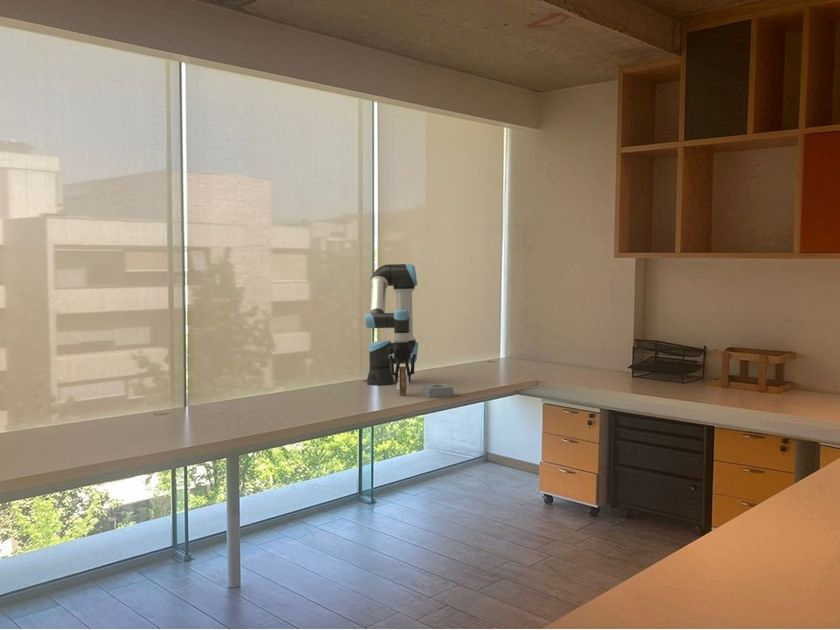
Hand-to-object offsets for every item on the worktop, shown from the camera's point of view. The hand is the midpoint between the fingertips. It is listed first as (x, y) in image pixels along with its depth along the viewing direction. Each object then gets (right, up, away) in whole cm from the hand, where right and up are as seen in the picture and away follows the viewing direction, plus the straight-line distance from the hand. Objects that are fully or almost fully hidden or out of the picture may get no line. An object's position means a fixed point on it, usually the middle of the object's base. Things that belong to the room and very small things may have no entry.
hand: (402, 388), depth 370 cm
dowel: (0, -3, 0) cm, 3 cm away
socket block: (+17, -3, -2) cm, 17 cm away
